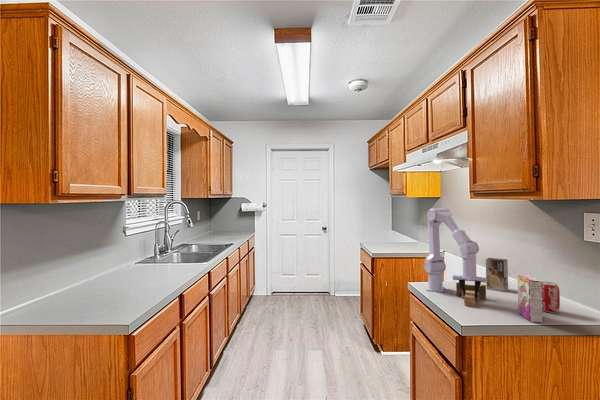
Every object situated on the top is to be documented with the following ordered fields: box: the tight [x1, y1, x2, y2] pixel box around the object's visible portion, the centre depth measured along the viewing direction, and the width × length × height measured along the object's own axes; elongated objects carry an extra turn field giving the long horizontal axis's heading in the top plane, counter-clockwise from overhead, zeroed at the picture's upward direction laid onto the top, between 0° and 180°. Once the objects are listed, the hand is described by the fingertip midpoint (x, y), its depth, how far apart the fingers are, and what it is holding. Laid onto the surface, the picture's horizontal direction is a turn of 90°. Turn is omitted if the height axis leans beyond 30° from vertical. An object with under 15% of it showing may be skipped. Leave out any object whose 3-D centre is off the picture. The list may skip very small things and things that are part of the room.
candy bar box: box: [517, 274, 544, 324], centre depth 140 cm, size 11×5×16 cm, turn 168°
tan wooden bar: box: [464, 290, 477, 308], centre depth 163 cm, size 14×4×4 cm, turn 151°
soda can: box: [542, 281, 561, 314], centre depth 148 cm, size 7×7×12 cm
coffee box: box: [485, 257, 509, 293], centre depth 184 cm, size 9×6×16 cm
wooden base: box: [455, 282, 487, 301], centre depth 169 cm, size 5×13×6 cm, turn 61°
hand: (470, 296), depth 163 cm, fingers closed on tan wooden bar, 4 cm apart
